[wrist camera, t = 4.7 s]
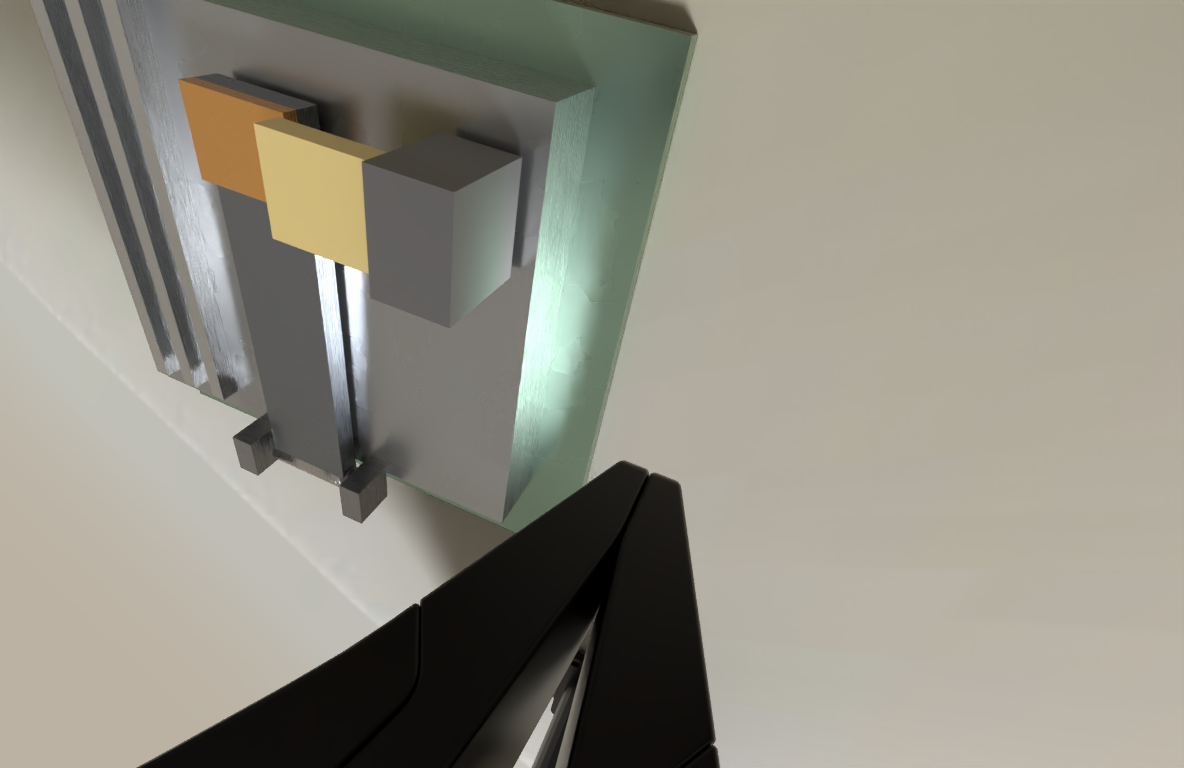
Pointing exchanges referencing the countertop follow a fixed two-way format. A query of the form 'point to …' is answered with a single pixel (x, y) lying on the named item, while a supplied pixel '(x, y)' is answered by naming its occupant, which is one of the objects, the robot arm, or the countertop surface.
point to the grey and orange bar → (276, 279)
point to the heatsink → (387, 122)
